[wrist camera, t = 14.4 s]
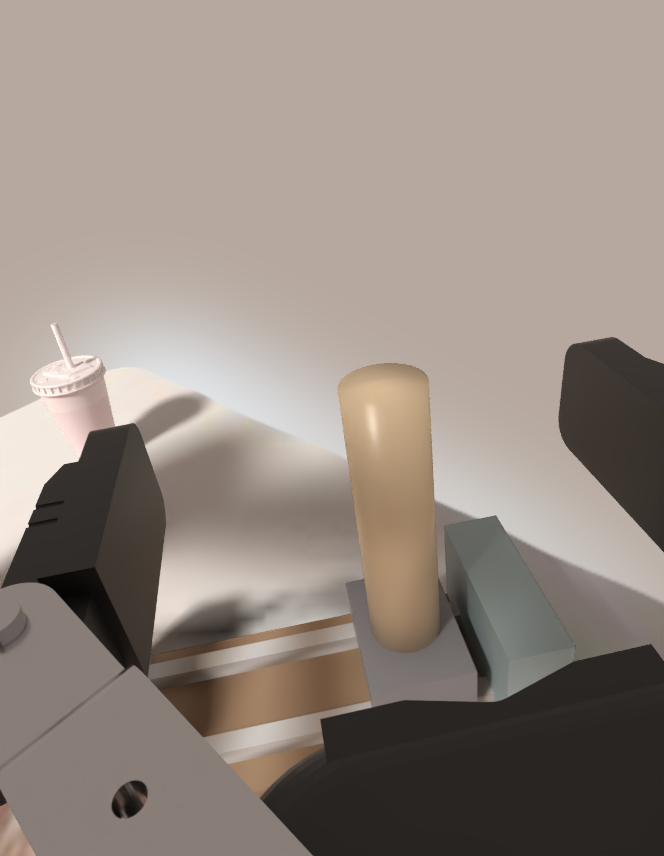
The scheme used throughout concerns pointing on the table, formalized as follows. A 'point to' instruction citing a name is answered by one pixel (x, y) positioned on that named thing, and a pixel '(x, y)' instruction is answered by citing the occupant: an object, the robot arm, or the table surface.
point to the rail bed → (271, 692)
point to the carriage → (399, 542)
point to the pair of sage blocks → (502, 608)
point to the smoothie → (74, 394)
